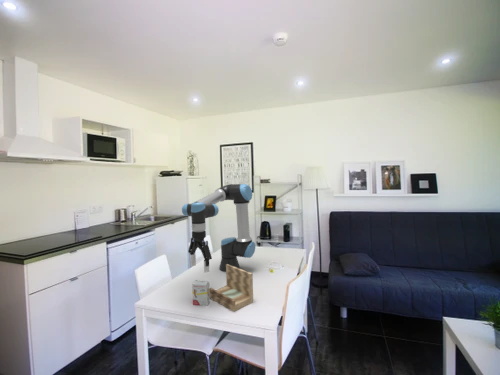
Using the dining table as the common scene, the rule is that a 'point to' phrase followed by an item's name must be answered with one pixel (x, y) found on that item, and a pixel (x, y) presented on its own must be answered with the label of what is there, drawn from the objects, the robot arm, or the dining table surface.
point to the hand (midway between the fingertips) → (199, 268)
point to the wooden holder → (235, 289)
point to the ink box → (201, 292)
